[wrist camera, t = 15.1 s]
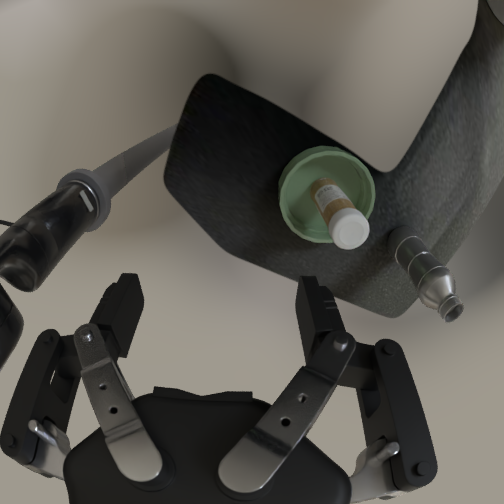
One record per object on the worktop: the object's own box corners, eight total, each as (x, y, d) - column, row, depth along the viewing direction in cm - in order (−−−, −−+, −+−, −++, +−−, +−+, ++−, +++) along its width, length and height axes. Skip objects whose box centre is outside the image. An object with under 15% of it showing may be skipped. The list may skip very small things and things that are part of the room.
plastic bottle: (387, 258, 48) (434, 337, 31) (380, 229, 45) (435, 308, 28) (415, 244, 47) (469, 317, 30) (410, 216, 43) (473, 286, 27)
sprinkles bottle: (313, 207, 42) (335, 255, 31) (305, 180, 40) (328, 221, 29) (340, 199, 41) (372, 244, 30) (334, 172, 39) (368, 210, 28)
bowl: (275, 229, 45) (277, 242, 42) (279, 142, 37) (283, 147, 34) (357, 231, 45) (364, 243, 42) (371, 150, 37) (382, 157, 34)
